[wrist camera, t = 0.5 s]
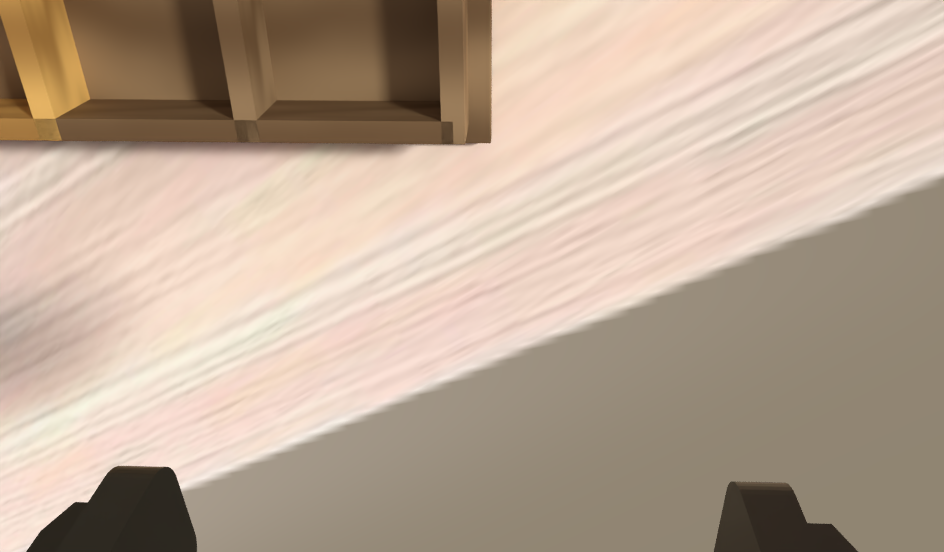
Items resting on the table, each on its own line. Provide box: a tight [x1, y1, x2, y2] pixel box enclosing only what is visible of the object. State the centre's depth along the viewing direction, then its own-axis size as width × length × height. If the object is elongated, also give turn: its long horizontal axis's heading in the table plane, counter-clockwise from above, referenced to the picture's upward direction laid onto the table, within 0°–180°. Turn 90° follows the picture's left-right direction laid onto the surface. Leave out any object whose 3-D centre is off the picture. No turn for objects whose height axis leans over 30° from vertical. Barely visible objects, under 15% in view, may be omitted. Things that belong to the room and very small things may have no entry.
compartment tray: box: [0, 0, 492, 144], centre depth 31 cm, size 12×30×4 cm, turn 91°
